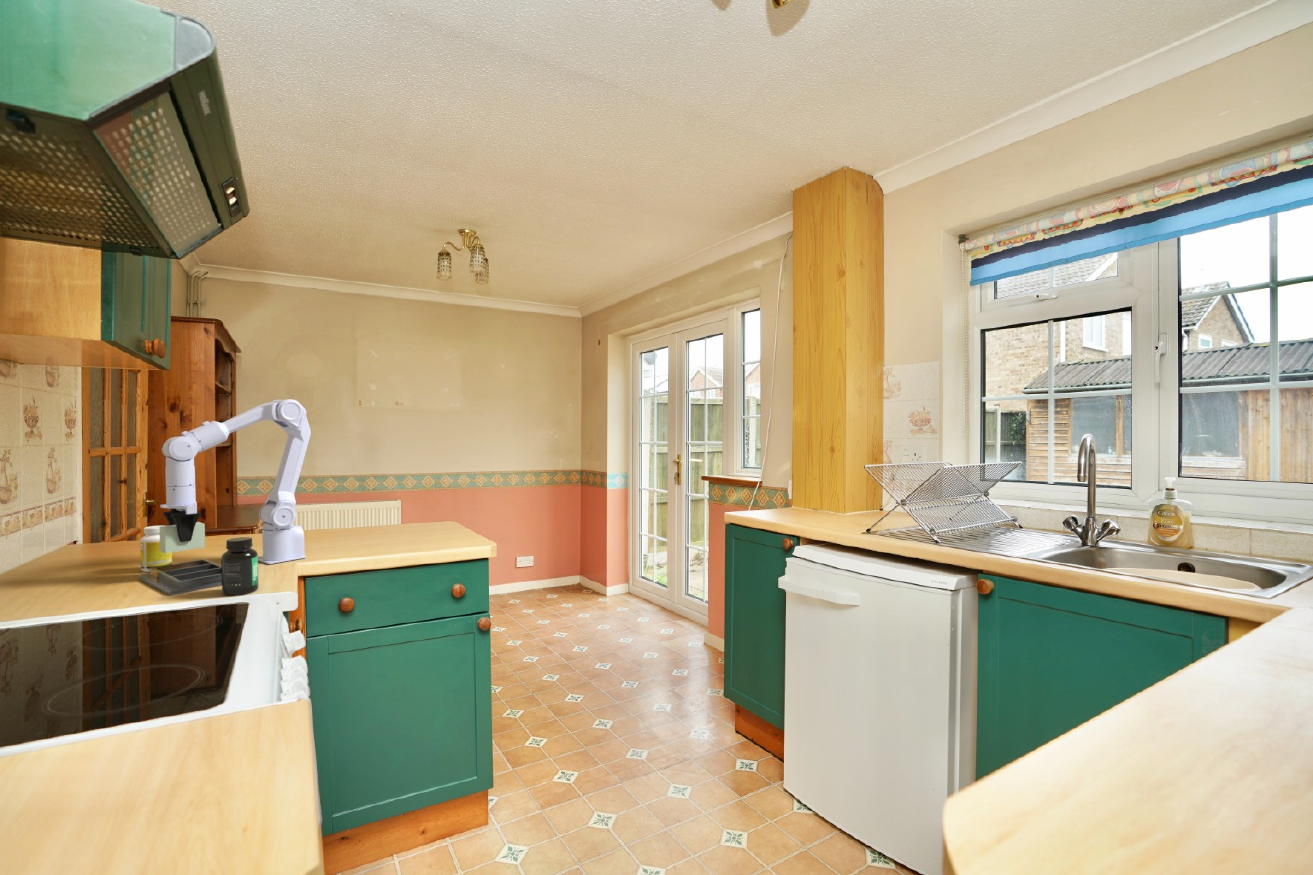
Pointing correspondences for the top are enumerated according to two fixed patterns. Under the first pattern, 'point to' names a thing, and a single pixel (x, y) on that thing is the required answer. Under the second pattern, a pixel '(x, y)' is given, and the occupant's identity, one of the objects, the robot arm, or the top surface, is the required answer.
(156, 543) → the pill bottle
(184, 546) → the panel block
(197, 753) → the top surface
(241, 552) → the supplement bottle
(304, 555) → the robot arm
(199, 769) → the top surface
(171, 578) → the rack
